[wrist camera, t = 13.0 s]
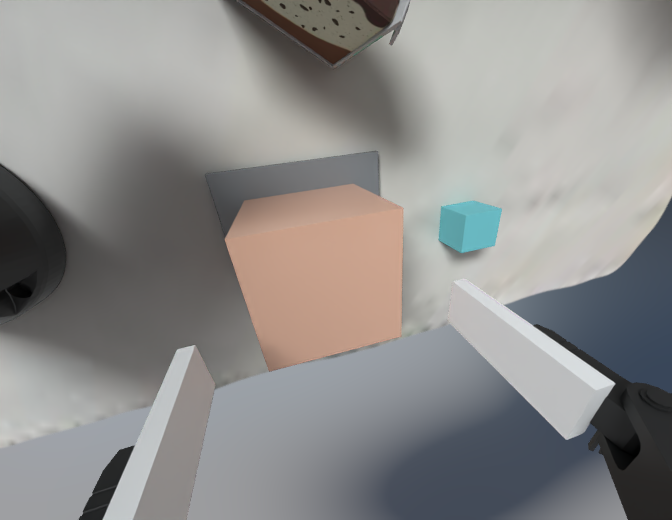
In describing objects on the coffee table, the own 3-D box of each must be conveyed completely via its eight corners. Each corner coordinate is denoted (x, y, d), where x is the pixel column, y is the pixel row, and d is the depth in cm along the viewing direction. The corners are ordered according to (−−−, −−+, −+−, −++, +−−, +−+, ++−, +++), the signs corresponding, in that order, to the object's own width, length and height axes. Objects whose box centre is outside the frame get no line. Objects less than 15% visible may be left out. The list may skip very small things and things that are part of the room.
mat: (253, 314, 27) (252, 318, 27) (206, 173, 20) (204, 174, 20) (379, 286, 30) (381, 288, 29) (375, 151, 23) (377, 151, 22)
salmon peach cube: (270, 294, 26) (269, 371, 17) (244, 200, 21) (224, 239, 13) (360, 275, 28) (401, 336, 19) (353, 183, 23) (403, 208, 14)
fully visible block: (438, 239, 29) (461, 253, 25) (441, 206, 27) (466, 215, 24) (468, 233, 29) (494, 245, 26) (472, 200, 28) (502, 208, 24)
